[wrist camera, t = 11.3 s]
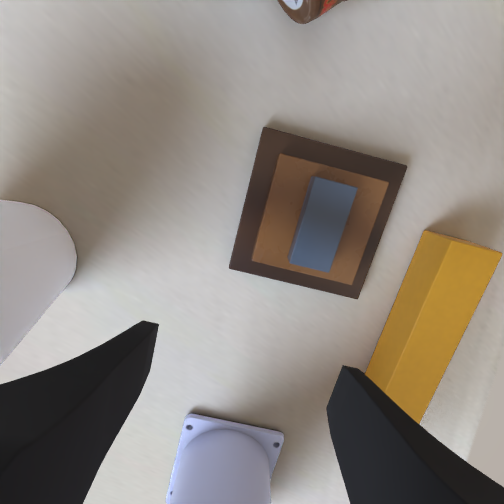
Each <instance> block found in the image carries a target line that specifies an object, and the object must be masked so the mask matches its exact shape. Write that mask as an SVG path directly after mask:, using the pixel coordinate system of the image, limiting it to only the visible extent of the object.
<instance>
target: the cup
mask: <svg viewBox="0 0 504 504" xmlns="http://www.w3.org/2000/svg"><path fill="white" fill-rule="evenodd" d="M76 262H77V255H76V250H75V245H74V242H73V240H72V238H71V236H70V234H69V232H68V231H67V229H66V228H65V227H64V226H63V225H62V223H61V222H60V221H59V220H58V219H57V218H55V217H54V216H53V215H52V214H50V213H49V212H48V211H46V210H44V209H42V208H39V207H37V206H35V205H32V204H27V203H22V202H16V201H8V200H0V366H1V364H2V363H3V362H4V361H5V360H6V358H7V357H8V356H9V355H10V354H11V352H12V351H13V350H14V349H15V348H16V346H17V345H18V344H19V343H20V342H21V340H22V339H23V338H24V337H25V336H26V334H27V333H28V332H29V331H30V330H31V328H32V327H33V326H34V325H35V324H36V322H37V321H38V320H39V319H40V318H41V316H42V315H43V314H44V313H45V312H46V310H47V309H48V308H49V307H50V306H51V304H52V303H53V302H54V301H55V300H56V298H57V297H58V296H59V295H60V294H61V292H62V291H63V290H64V289H65V288H66V286H67V285H68V284H69V282H70V281H71V280H72V278H73V275H74V273H75V270H76Z"/></svg>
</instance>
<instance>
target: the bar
mask: <svg viewBox="0 0 504 504" xmlns="http://www.w3.org/2000/svg"><path fill="white" fill-rule="evenodd" d="M501 257H502V253H501V252H499V251H496V250H493V249H490V248H487V247H484V246H481V245H478V244H475V243H472V242H469V241H466V240H462V239H458V238H454V237H451V236H447V235H443V234H439V233H435V232H431V231H427V230H424V232H423V234H422V236H421V239H420V241H419V244H418V246H417V249H416V251H415V253H414V256H413V258H412V261H411V263H410V266H409V268H408V270H407V273H406V275H405V278H404V280H403V283H402V285H401V287H400V290H399V292H398V295H397V297H396V300H395V302H394V304H393V307H392V309H391V312H390V314H389V317H388V319H387V321H386V324H385V326H384V329H383V331H382V334H381V336H380V338H379V341H378V343H377V346H376V348H375V351H374V353H373V355H372V358H371V360H370V363H369V365H368V368H367V370H366V372H365V375H366V376H367V377H368V378H369V379H371V380H372V381H373V382H374V383H375V384H376V385H377V386H378V387H379V388H380V389H381V390H382V391H383V392H384V393H385V394H386V395H387V396H389V397H390V398H391V399H392V400H393V401H394V402H395V403H396V404H397V405H398V406H399V407H400V408H401V409H402V410H403V411H405V412H406V413H407V414H408V415H409V416H410V417H411V418H412V419H413V420H415V421H416V422H417V423H418V424H419V423H420V421H421V419H422V417H423V415H424V413H425V411H426V409H427V407H428V405H429V403H430V401H431V399H432V397H433V395H434V393H435V391H436V388H437V386H438V384H439V382H440V380H441V378H442V376H443V374H444V372H445V370H446V368H447V366H448V364H449V362H450V360H451V358H452V356H453V354H454V352H455V350H456V348H457V346H458V344H459V342H460V340H461V338H462V336H463V334H464V332H465V330H466V328H467V326H468V324H469V321H470V319H471V317H472V315H473V313H474V311H475V309H476V307H477V305H478V303H479V301H480V299H481V297H482V295H483V293H484V291H485V289H486V287H487V285H488V283H489V281H490V279H491V277H492V275H493V273H494V271H495V269H496V267H497V265H498V263H499V261H500V259H501Z"/></svg>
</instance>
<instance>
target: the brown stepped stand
mask: <svg viewBox="0 0 504 504" xmlns="http://www.w3.org/2000/svg"><path fill="white" fill-rule="evenodd" d="M406 169H407V166H406V165H403V164H399V163H395V162H392V161H388V160H384V159H381V158H377V157H373V156H370V155H366V154H362V153H359V152H355V151H351V150H348V149H344V148H340V147H337V146H333V145H329V144H326V143H322V142H318V141H314V140H311V139H307V138H303V137H300V136H296V135H292V134H289V133H285V132H281V131H278V130H274V129H270V128H267V127H263V130H262V134H261V138H260V142H259V146H258V150H257V154H256V158H255V162H254V166H253V170H252V174H251V179H250V183H249V187H248V191H247V195H246V199H245V203H244V207H243V211H242V215H241V219H240V223H239V228H238V232H237V236H236V240H235V244H234V248H233V252H232V256H231V260H230V264H229V269H233V270H237V271H241V272H246V273H250V274H254V275H258V276H262V277H266V278H271V279H275V280H279V281H283V282H287V283H292V284H296V285H300V286H304V287H308V288H312V289H317V290H321V291H325V292H329V293H333V294H337V295H342V296H346V297H350V298H354V299H358V297H359V294H360V292H361V289H362V286H363V284H364V281H365V278H366V276H367V273H368V270H369V268H370V265H371V262H372V260H373V257H374V254H375V252H376V249H377V246H378V244H379V241H380V238H381V236H382V233H383V230H384V228H385V225H386V222H387V220H388V217H389V214H390V212H391V209H392V206H393V204H394V201H395V198H396V196H397V193H398V190H399V188H400V185H401V182H402V180H403V177H404V174H405V172H406Z"/></svg>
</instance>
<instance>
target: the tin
mask: <svg viewBox="0 0 504 504" xmlns="http://www.w3.org/2000/svg"><path fill="white" fill-rule="evenodd" d="M342 1H347V0H278V2H279V3H280V5H281V6H282V8H283V9H284V11H285V12H286V13H287V14H288V16H289V17H290V18H291V19H293V20H294V21H295V22H297V23H300V24H305V23H308V22H310V21H312V20H314V19H316V18H318V17H319V16H321V15H322V14H324V13H325V12H327V11H328V10H330V9H331V8H333V7H334V6H335V5H337V4H339V3H340V2H342Z"/></svg>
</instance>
